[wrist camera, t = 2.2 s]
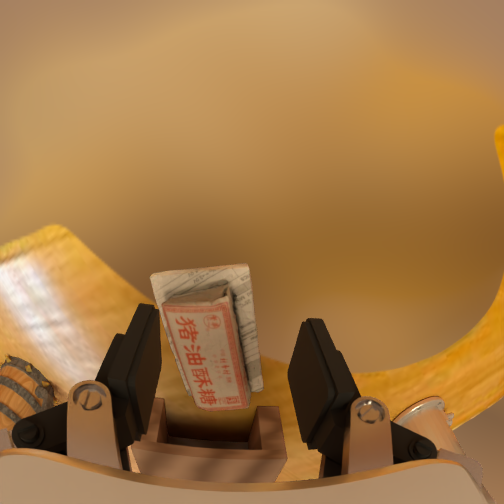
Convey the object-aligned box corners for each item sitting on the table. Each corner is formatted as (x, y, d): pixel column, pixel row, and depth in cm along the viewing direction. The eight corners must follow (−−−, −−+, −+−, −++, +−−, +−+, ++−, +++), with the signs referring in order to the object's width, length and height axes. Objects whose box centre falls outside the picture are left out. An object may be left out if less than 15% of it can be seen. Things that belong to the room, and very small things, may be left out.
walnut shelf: (278, 406, 38) (287, 458, 29) (264, 446, 42) (269, 490, 34) (143, 395, 36) (130, 447, 27) (151, 437, 40) (144, 481, 32)
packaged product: (267, 411, 32) (186, 417, 32) (263, 383, 36) (189, 389, 36) (252, 282, 25) (138, 294, 25) (248, 258, 29) (151, 270, 29)
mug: (-11, 352, 32) (-64, 431, 14) (47, 345, 32) (-16, 457, 13) (29, 404, 37) (-7, 484, 19) (93, 407, 37) (60, 512, 18)
